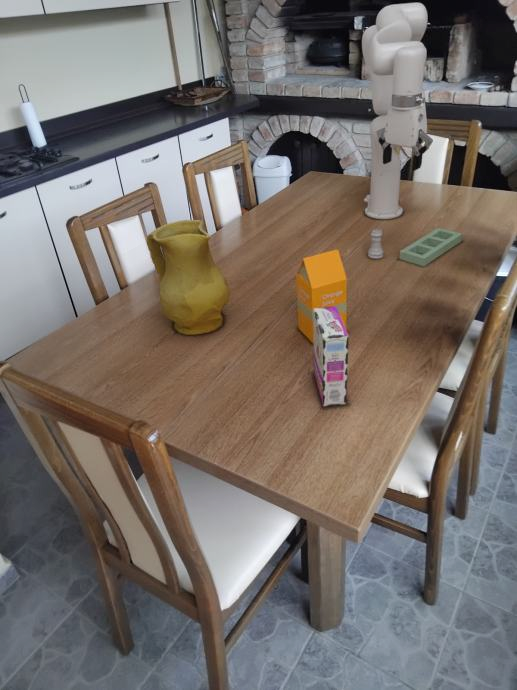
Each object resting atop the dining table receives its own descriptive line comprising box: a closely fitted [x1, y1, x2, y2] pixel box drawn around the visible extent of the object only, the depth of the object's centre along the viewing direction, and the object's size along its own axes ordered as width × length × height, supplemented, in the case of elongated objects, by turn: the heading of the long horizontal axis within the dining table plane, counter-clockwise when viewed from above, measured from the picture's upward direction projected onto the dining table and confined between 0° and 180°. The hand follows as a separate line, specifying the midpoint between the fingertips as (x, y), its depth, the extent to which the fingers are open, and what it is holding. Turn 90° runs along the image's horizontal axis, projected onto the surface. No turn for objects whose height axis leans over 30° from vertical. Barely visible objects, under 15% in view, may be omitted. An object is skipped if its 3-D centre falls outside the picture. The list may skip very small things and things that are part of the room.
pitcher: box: [146, 219, 231, 336], centre depth 130 cm, size 17×19×25 cm
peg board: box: [398, 227, 463, 267], centre depth 158 cm, size 8×21×2 cm, turn 135°
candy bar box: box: [313, 306, 350, 408], centre depth 106 cm, size 11×5×16 cm, turn 5°
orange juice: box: [295, 248, 348, 345], centre depth 123 cm, size 8×9×20 cm
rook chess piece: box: [367, 228, 384, 260], centre depth 156 cm, size 4×4×8 cm
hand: (401, 165), depth 151 cm, fingers open, 9 cm apart
